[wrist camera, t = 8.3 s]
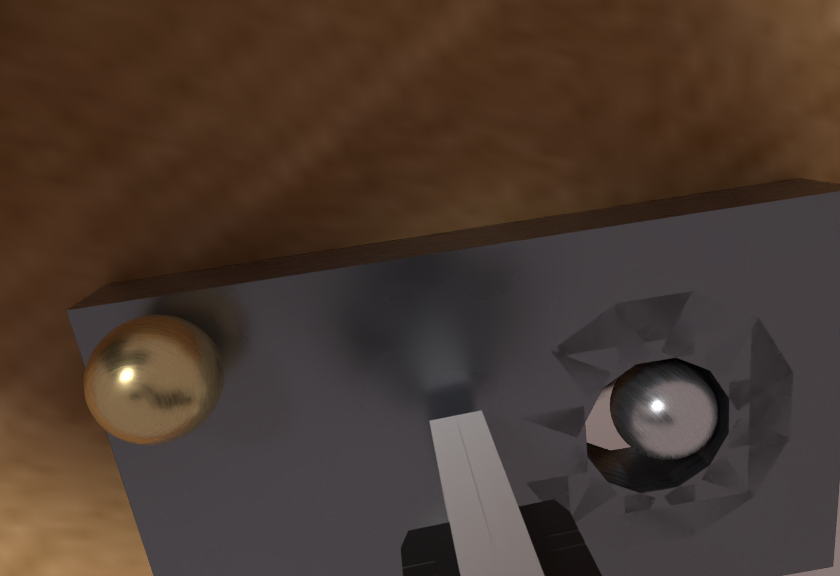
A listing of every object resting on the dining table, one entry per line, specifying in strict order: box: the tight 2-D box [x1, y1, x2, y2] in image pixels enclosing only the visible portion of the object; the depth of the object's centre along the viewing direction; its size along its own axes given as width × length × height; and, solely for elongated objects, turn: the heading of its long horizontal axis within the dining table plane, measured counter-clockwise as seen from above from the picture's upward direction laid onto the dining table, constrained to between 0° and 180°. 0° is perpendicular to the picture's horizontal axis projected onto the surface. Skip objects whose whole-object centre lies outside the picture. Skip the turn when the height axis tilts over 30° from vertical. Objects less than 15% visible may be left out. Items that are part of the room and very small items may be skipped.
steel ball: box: [610, 359, 718, 460], centre depth 19 cm, size 3×3×3 cm
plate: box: [66, 178, 840, 576], centre depth 19 cm, size 22×13×2 cm, turn 98°
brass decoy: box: [83, 315, 224, 445], centre depth 15 cm, size 3×3×3 cm
